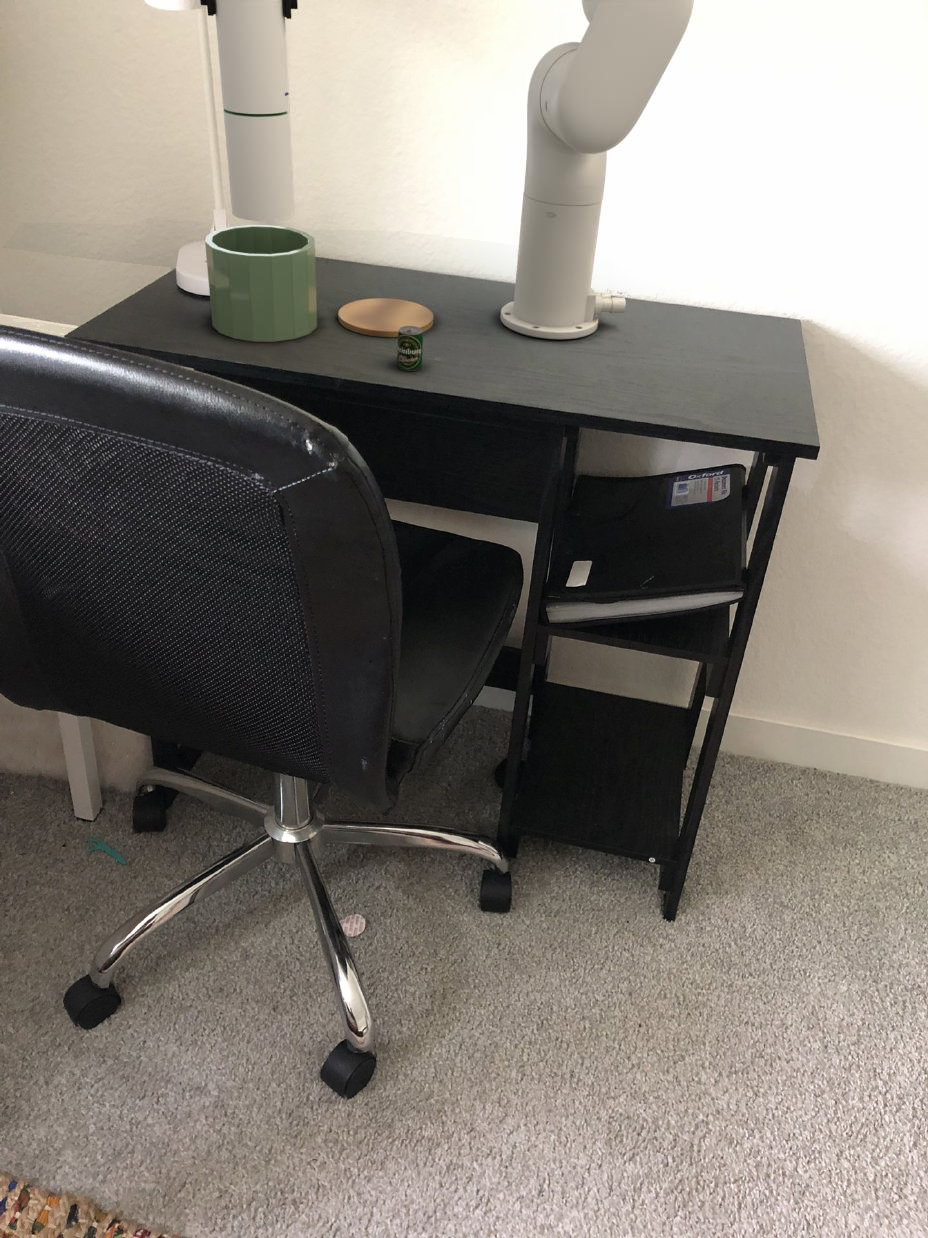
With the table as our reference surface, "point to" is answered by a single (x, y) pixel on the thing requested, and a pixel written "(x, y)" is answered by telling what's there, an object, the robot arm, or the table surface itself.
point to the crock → (262, 282)
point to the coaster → (384, 316)
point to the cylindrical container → (256, 107)
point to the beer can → (410, 348)
